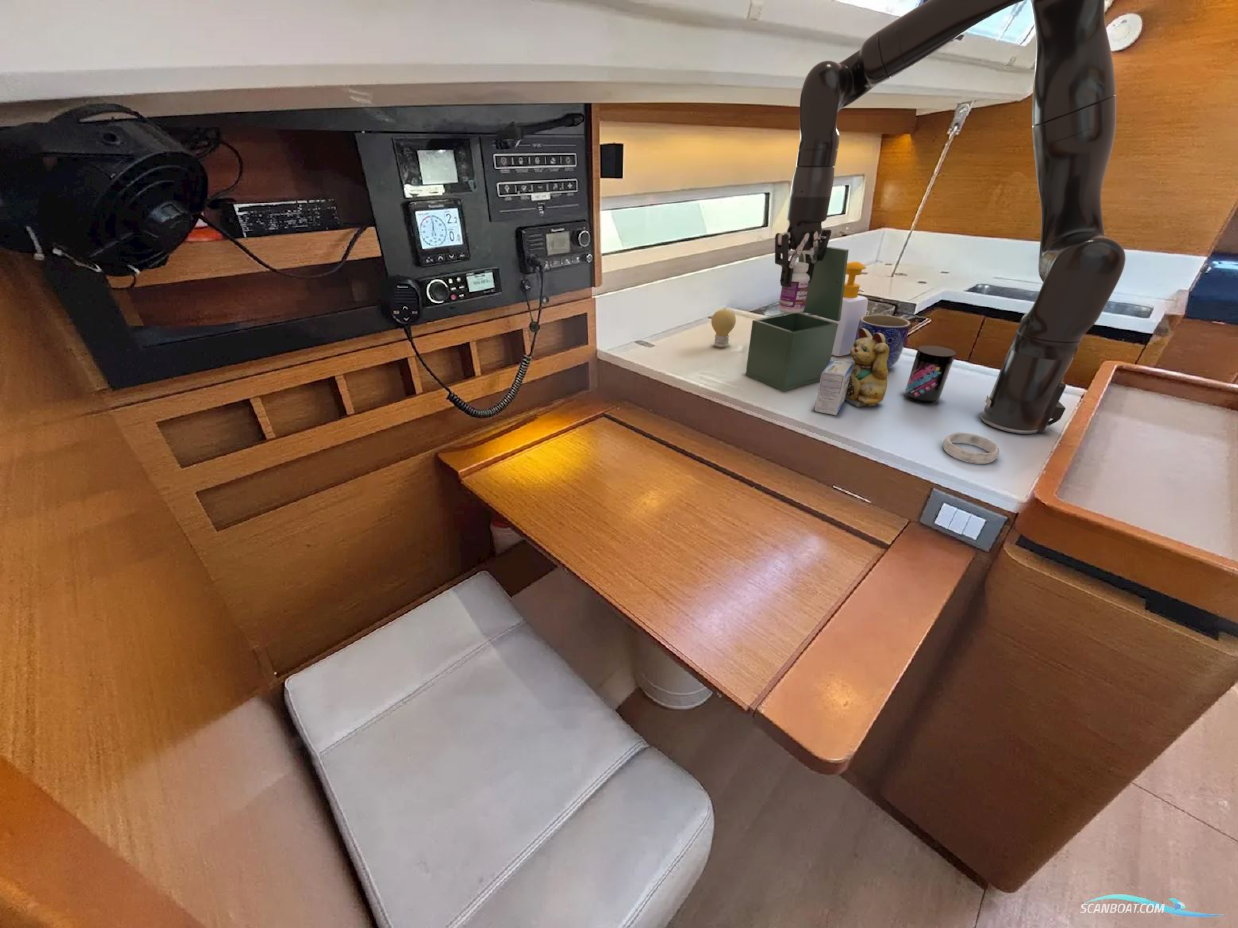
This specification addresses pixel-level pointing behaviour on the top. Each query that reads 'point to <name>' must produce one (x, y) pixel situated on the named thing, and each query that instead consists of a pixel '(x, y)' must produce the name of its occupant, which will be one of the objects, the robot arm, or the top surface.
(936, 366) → the supplement container
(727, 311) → the light bulb
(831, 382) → the medicine box
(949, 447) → the ring
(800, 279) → the pill bottle
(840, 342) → the soap bottle
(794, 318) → the tin
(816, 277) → the green square lid
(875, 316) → the planter
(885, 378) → the decorative figurine
